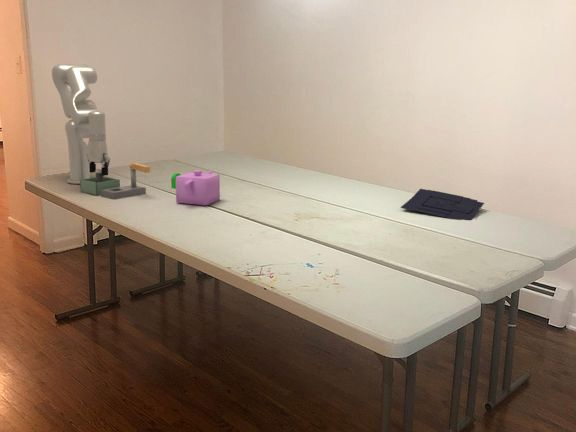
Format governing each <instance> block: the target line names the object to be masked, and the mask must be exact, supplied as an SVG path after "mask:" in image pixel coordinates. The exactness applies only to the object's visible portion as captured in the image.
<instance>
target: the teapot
mask: <svg viewBox="0 0 576 432" xmlns="http://www.w3.org/2000/svg"><path fill="white" fill-rule="evenodd" d="M202 171H203V170H199V169H196V170H193V172H187V173H184V174H181V175H180V176H176V189H175V196H176V197H175V201H176V204H189V205H200V206H209V205H211V204H214V203H216V202H219V201H220V200H221V199H220V198H221V195H220V194H221V192H220V191H221V190H220V189H221V188H220V185H221V184H220V183H221V182H220V178H221V177H220V174H217V173H215V174H214V173H213V170H207V172H206V173H205V172H204V173H202Z"/></svg>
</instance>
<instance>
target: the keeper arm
mask: <svg viewBox="0 0 576 432" xmlns="http://www.w3.org/2000/svg"><path fill="white" fill-rule="evenodd" d="M129 169H130V170H131V169H135V170H136V171H138V172H142V173H151V167H150V166H148V165H144V164H140V163H137V162H129Z"/></svg>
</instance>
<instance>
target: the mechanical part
mask: <svg viewBox="0 0 576 432" xmlns="http://www.w3.org/2000/svg"><path fill="white" fill-rule="evenodd" d="M180 175H182V174H181V173H179V172H178V173H176V172H175V173H173V174H172V175H171V189H175V190H176V176H180Z"/></svg>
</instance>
